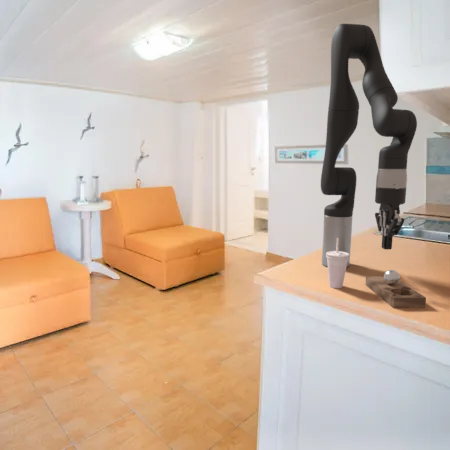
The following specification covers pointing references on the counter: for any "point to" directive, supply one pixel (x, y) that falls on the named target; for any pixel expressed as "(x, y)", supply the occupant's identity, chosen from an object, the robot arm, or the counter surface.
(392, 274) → the ball
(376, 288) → the brown ball holder
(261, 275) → the counter surface
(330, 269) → the smoothie
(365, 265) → the counter surface
